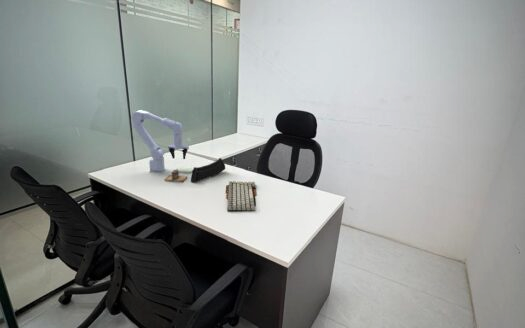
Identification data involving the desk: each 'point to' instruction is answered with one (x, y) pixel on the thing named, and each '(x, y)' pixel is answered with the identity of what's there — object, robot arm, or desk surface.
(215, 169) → the black curved slab
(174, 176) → the stub
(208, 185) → the desk surface
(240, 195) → the mechanical keyboard
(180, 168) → the ticket
